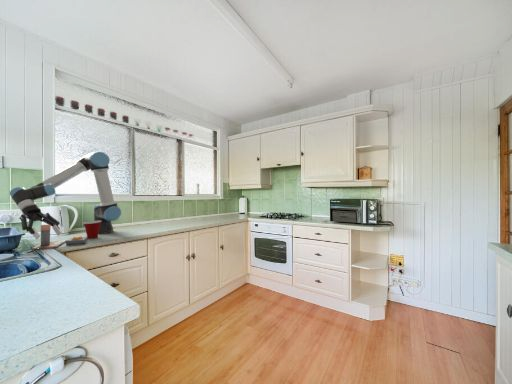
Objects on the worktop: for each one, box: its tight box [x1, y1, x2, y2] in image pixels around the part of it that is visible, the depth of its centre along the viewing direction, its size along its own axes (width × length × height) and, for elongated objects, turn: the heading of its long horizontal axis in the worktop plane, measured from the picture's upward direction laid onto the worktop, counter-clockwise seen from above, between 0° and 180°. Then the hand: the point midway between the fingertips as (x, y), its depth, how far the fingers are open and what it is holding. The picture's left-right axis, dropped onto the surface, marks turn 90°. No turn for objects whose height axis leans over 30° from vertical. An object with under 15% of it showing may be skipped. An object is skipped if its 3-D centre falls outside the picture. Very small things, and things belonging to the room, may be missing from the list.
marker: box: [40, 224, 52, 246], centre depth 130 cm, size 4×4×12 cm
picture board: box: [30, 239, 68, 251], centre depth 135 cm, size 11×20×1 cm, turn 28°
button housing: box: [65, 236, 89, 246], centre depth 141 cm, size 9×9×3 cm
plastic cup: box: [82, 220, 101, 240], centre depth 158 cm, size 11×11×12 cm
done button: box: [72, 235, 83, 240], centre depth 141 cm, size 4×4×2 cm
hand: (49, 235), depth 129 cm, fingers open, 10 cm apart
